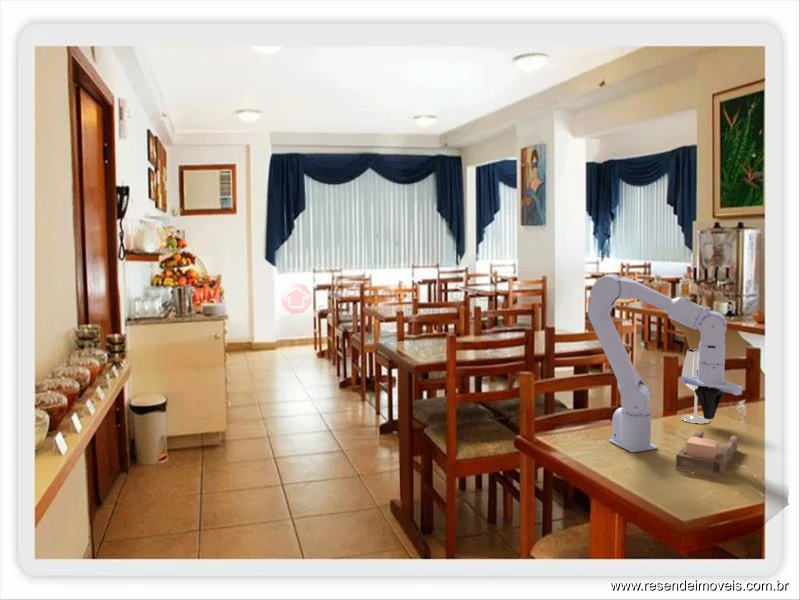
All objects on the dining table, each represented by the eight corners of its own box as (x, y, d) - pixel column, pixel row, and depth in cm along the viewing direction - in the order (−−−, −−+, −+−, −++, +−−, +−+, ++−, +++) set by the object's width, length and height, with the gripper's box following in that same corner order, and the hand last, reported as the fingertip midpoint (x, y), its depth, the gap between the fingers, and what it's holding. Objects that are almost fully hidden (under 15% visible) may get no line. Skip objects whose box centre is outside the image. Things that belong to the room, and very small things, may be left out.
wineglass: (703, 415, 195) (705, 347, 193) (715, 424, 187) (718, 353, 185) (676, 416, 195) (678, 348, 193) (686, 424, 188) (689, 353, 185)
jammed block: (690, 456, 159) (691, 436, 159) (718, 461, 156) (719, 440, 155) (685, 463, 155) (686, 442, 155) (713, 468, 152) (714, 447, 151)
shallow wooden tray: (698, 443, 172) (698, 429, 171) (736, 449, 167) (737, 436, 166) (675, 469, 154) (676, 455, 154) (718, 478, 149) (719, 462, 149)
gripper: (673, 359, 164) (672, 413, 166) (730, 370, 152) (728, 428, 153) (691, 356, 168) (689, 409, 169) (748, 366, 156) (745, 423, 157)
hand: (709, 418), depth 162 cm, fingers closed
